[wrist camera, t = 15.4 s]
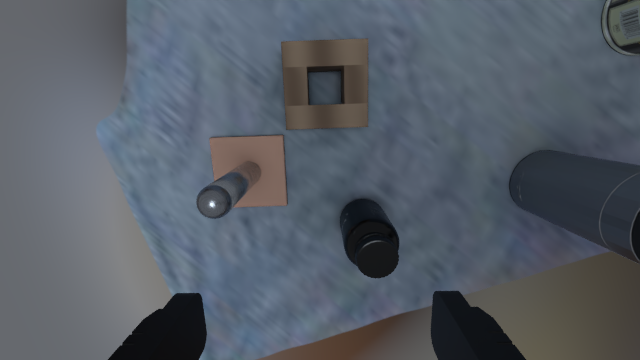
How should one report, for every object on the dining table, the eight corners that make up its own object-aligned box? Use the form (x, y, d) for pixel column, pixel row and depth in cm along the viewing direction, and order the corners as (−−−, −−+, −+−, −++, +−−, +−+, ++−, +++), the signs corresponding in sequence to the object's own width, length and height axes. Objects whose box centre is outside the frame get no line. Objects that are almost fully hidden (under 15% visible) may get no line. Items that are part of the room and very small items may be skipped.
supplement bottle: (331, 210, 44) (336, 246, 32) (372, 190, 43) (392, 218, 32) (352, 248, 45) (363, 296, 34) (392, 228, 45) (418, 270, 33)
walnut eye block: (361, 47, 39) (368, 38, 34) (362, 125, 41) (367, 126, 36) (285, 50, 39) (281, 41, 34) (290, 127, 41) (286, 129, 36)
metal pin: (260, 160, 41) (224, 188, 26) (261, 183, 42) (228, 223, 27) (237, 161, 41) (188, 189, 26) (239, 184, 42) (192, 224, 27)
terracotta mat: (283, 135, 41) (282, 135, 40) (287, 203, 44) (286, 205, 43) (212, 137, 41) (209, 138, 40) (219, 205, 44) (217, 207, 43)
